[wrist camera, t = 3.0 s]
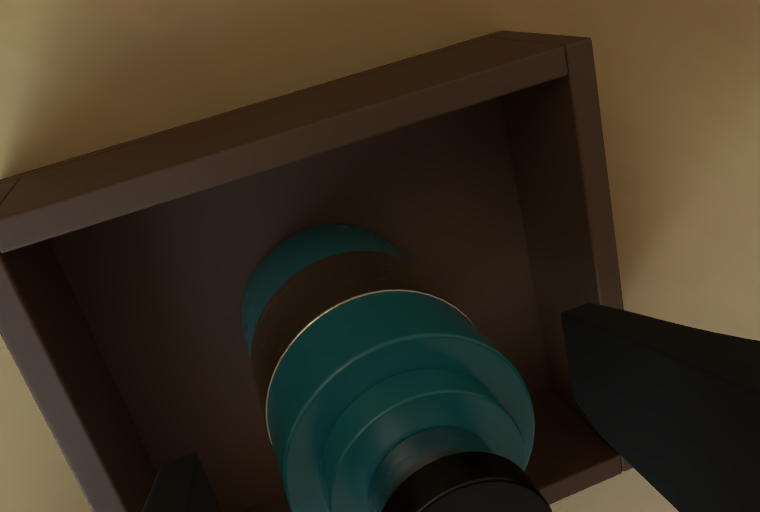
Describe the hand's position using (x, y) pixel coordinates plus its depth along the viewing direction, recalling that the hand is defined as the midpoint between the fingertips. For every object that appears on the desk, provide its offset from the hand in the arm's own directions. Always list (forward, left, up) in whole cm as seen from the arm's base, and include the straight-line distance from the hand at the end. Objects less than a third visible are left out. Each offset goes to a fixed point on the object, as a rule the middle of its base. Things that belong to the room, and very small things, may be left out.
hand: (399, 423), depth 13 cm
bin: (0, 0, -6) cm, 6 cm away
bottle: (0, 0, -6) cm, 6 cm away
